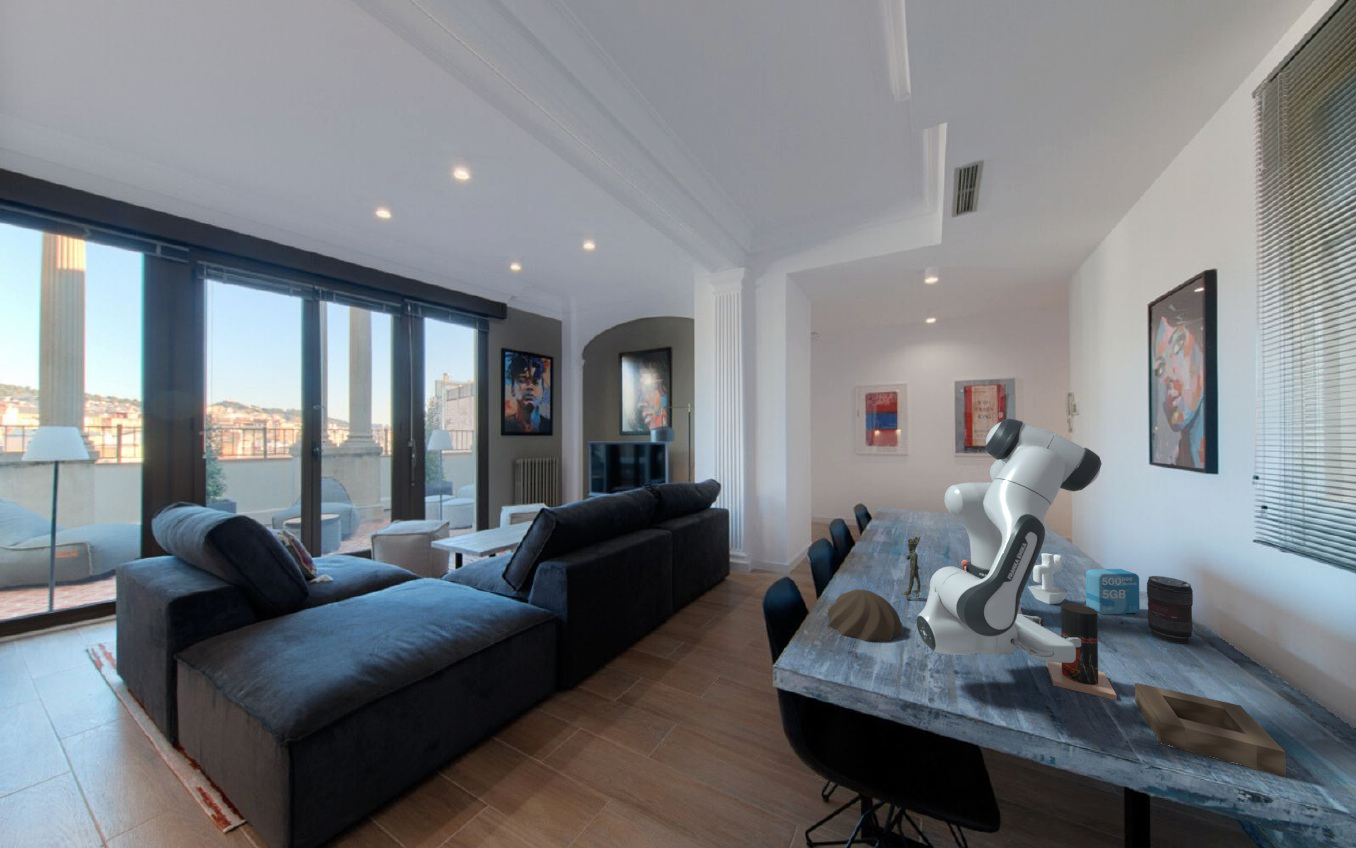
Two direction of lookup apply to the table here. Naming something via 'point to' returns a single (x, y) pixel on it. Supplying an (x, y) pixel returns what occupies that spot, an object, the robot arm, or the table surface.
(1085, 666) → the deodorant
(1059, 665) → the terracotta tile
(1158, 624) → the camera lens
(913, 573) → the statue
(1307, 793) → the table surface
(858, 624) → the decorative dome
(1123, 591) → the data package
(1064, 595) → the figurine
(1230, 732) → the block
